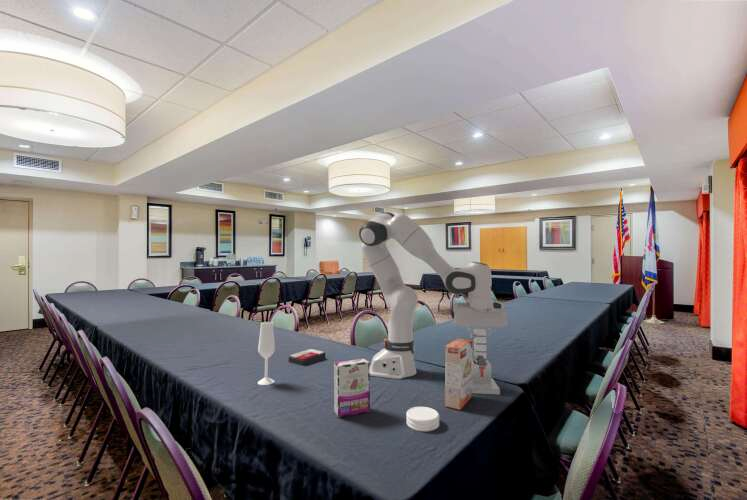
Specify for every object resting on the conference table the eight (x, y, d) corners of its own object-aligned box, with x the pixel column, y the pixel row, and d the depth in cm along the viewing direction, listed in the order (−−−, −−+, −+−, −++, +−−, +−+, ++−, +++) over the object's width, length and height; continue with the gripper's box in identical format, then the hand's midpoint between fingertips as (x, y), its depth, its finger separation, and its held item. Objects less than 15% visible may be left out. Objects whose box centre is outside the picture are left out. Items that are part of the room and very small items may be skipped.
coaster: (435, 416, 110) (435, 405, 110) (442, 432, 100) (442, 420, 100) (404, 417, 109) (404, 406, 110) (408, 432, 99) (408, 420, 100)
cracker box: (461, 411, 113) (461, 347, 114) (444, 407, 117) (444, 345, 117) (473, 397, 125) (473, 339, 126) (457, 393, 128) (457, 337, 129)
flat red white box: (288, 355, 169) (311, 347, 181) (288, 363, 169) (311, 355, 181) (302, 359, 162) (325, 350, 174) (303, 368, 162) (325, 359, 174)
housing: (466, 393, 129) (466, 359, 130) (462, 382, 141) (462, 351, 142) (499, 394, 128) (499, 360, 128) (492, 383, 140) (492, 352, 140)
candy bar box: (364, 406, 117) (364, 357, 118) (370, 412, 112) (370, 361, 113) (333, 412, 112) (333, 361, 113) (337, 418, 108) (338, 365, 108)
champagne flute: (253, 383, 138) (254, 323, 139) (264, 378, 144) (265, 321, 145) (267, 385, 136) (268, 324, 137) (277, 380, 142) (278, 322, 143)
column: (475, 382, 133) (475, 330, 133) (474, 379, 137) (473, 328, 138) (486, 383, 132) (486, 331, 133) (484, 379, 136) (484, 329, 137)
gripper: (454, 303, 134) (453, 339, 133) (508, 304, 131) (508, 341, 131) (452, 301, 140) (452, 335, 140) (504, 302, 138) (504, 337, 137)
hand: (479, 338), depth 135 cm, fingers open, 4 cm apart
